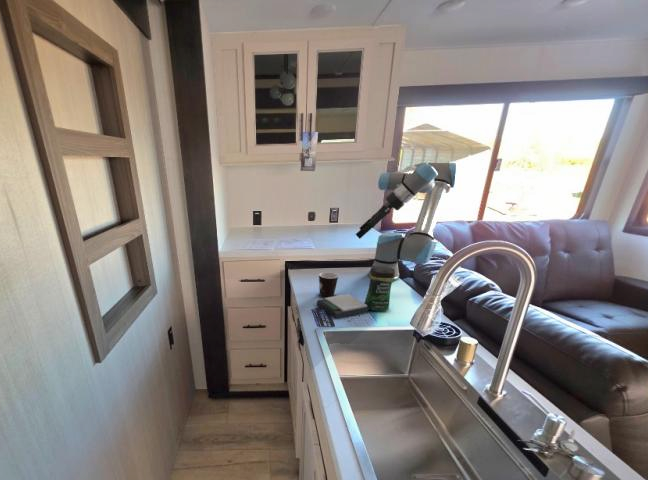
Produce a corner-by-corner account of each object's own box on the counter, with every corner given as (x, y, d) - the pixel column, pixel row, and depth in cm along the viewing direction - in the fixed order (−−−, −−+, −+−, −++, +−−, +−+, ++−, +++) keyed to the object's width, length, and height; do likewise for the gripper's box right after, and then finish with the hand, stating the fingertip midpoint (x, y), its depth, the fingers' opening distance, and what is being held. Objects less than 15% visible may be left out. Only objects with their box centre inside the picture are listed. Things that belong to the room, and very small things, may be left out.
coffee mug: (336, 299, 142) (338, 279, 138) (317, 298, 144) (318, 277, 139) (335, 290, 152) (337, 270, 148) (317, 289, 154) (319, 269, 150)
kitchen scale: (347, 299, 142) (348, 293, 141) (368, 312, 130) (369, 305, 129) (316, 305, 137) (317, 298, 135) (335, 319, 125) (336, 311, 123)
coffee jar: (366, 311, 131) (373, 269, 123) (362, 303, 138) (368, 263, 130) (390, 312, 130) (398, 270, 122) (385, 304, 137) (392, 264, 129)
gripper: (393, 188, 141) (357, 222, 153) (391, 194, 120) (349, 233, 132) (405, 200, 141) (368, 233, 153) (405, 208, 120) (362, 245, 132)
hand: (359, 233), depth 143 cm, fingers open, 13 cm apart
